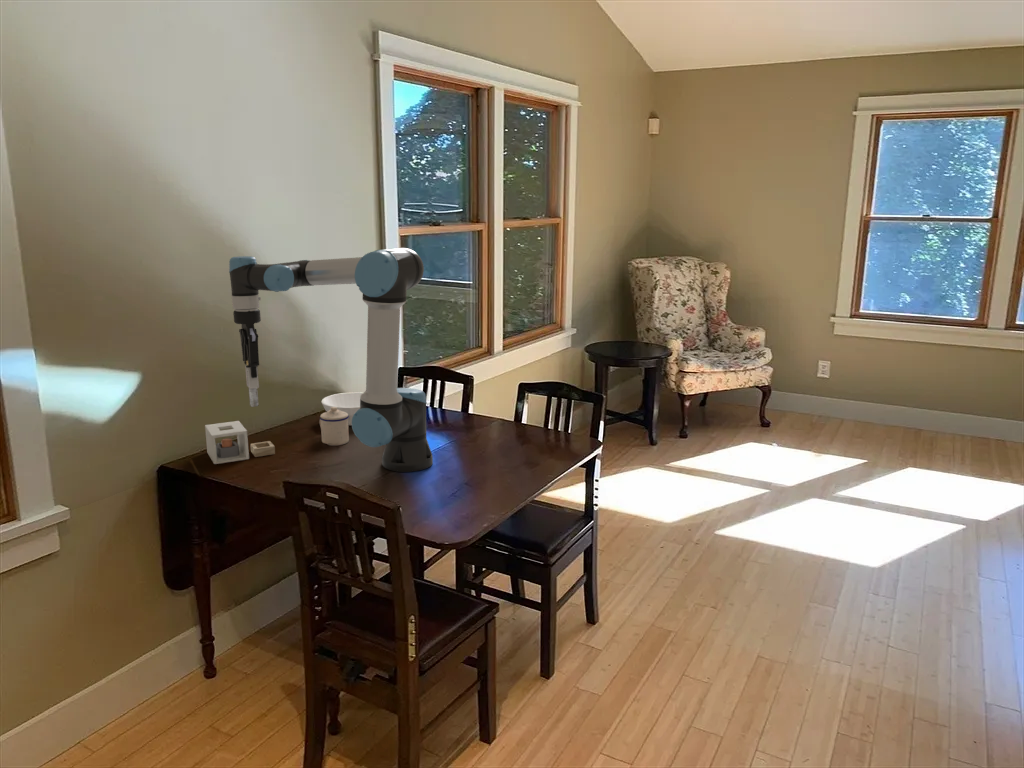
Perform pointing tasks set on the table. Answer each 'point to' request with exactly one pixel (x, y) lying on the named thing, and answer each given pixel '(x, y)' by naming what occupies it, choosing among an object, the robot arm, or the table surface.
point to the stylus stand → (262, 448)
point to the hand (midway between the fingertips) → (253, 386)
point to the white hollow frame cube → (227, 453)
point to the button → (226, 442)
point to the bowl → (344, 403)
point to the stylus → (252, 394)
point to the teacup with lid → (334, 427)
